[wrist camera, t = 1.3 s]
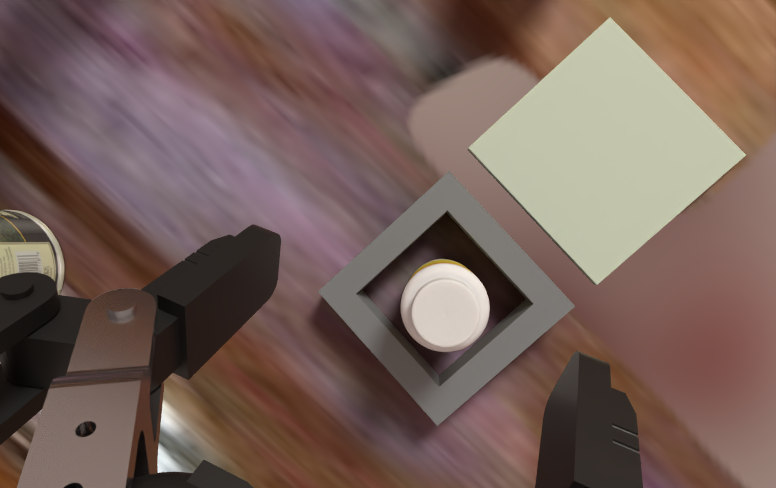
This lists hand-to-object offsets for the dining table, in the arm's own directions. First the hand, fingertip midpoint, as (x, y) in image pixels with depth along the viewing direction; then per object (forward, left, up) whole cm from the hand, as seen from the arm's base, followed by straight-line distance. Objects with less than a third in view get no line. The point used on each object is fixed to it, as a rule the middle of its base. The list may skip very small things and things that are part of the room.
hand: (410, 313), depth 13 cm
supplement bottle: (+2, -1, -26) cm, 26 cm away
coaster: (+2, +15, -26) cm, 30 cm away
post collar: (+2, -1, -26) cm, 26 cm away
